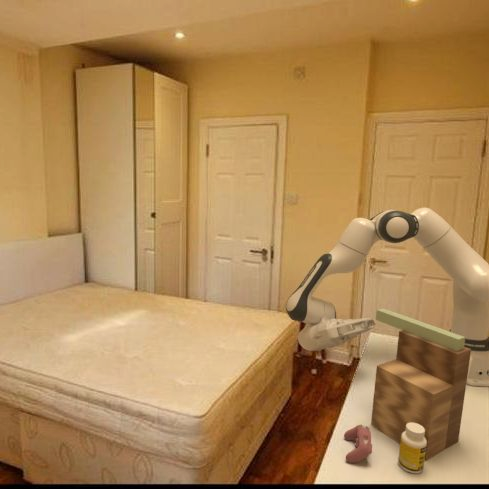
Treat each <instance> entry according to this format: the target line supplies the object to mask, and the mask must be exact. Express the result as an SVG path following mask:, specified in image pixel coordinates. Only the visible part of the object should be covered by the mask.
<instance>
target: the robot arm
mask: <svg viewBox="0 0 489 489" xmlns="http://www.w3.org/2000/svg"><path fill="white" fill-rule="evenodd" d="M410 239H414V240H416V242H418V244H419V245H420V246H421V247H422V248H423V250H425V252H426V253H428V255H429V256H430V257H431V258H432V259H433V261H435V262H436V263H437V264H438V266H440V267H441V268H442V270H444V272H445V273H446V274H448V275H449V277H451V279H452V296H453V297H452V298H453V299H452V300H453V302H452V304H453V305H452V306H453V308H452V320H451V328H450V329H449V330H448V331H449V332H452V333H455V334H458V335H461V336H463V337H465V343H464V347H467V348H469V349H471V354H470V361H469V368H468V375H467V382H466V385H469V386H472V387H489V263H488V262H487V261H486V260H485V259H484V257H482V256H481V255H480V254H479V253H478V252H477V251H476V250H474V248H473V247H472V246H470V245H469V244H468V243H467V242H466V241H465V239H463V238H462V236H460V234H459V233H458V232H457V231H456V230H455V229H454V228H453V227H452V226H451V225H450V224H449V223H448V222H447V221H446V220H445V219H444V218H443V217H442V216H440V215H439V214H438V213H437V212H435V211H434V210H432V209H431V208H429V207H425V206H423V207H419V208H417V209H414V211H413V212H411V213H408V212H405V211H402V210H398V209H386V210H383V211H381V212H379V213H377V214H376V215H374V216H373V217H371V218H369V219H367V218H365V217H356V218H353V219H352V220H351V221H350V222H349V224H348V225H347V226H346V227H345V229H344V231H343V232H342V233H341V235H340V237H339V239H338V241H337V243H336V245H335V246H334V247H333V248H332V249H331V250H330V251H328V252H327V253H325V254H322V255H321V256H320V257H319V258H318V259H317V261H316V262H315V263H314V264H313V266H312V267H311V268H310V270H309V272H308V273H307V274H306V276H305V277H304V279H303V280H302V281H301V283H300V285H299V286H298V287H297V288H296V290H294V292H292V294H290V296H289V297H288V298H287V301H286V302H285V310H286V314H287V315H288V318H290V319H291V321H295V322H300V323H304V324H305V326H304V328H302V329H301V330H300V332H299V333H298V334H297V341H298V343H299V345H300V346H301V347H302V348H303V349H304V350H306V351H309V352H316V351H322V350H326V349H327V348H328V349H330V348H331V349H332V348H335V347H336V348H337V347H339V346H343V345H344V344H345V343H347V342H349V341H350V340H353V339H356V338H357V337H358V336H359V335H361V334H364V333H366V332H368V331H370V330H373V329H374V328H375V326H376V325H377V320H376V318H373V319H372V318H371V317H361V318H354V319H353V318H344V319H341V318H337V311H336V308H335V306H334V305H333V303H331V302H330V301H326V300H324V299H321V298H317V297H314V296H312V295H314V292H316V290H317V288H319V286H320V284H321V283H322V282H323V281H324V280H325V278H327V277H329V276H331V275H336V274H349V273H353V272H357V271H358V270H359V269H360V268H361V267H362V266H363V264H364V263H365V261H366V259H367V257H368V255H369V254H370V251H371V249H372V247H373V246H374V245H375V244H376V243H377V242H379V241H383V242H386V243H390V244H391V243H392V244H400V243H403V242H405V241H407V240H410Z"/></svg>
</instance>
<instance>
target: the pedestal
mask: <svg viewBox="0 0 489 489" xmlns="http://www.w3.org/2000/svg"><path fill="white" fill-rule="evenodd" d="M397 339H398V340H397V347H396V348H397V349H396V350H397V351H396V356H395V357H396V358H395V359H392V360H390V361H387V362H384V363H380V364H378V365H376V369H375V370H376V371H375V378H374V379H375V381H374V390H373V391H374V392H373V402H372V410H371V411H372V412H371V422H370V425H371V426H372V427H374V428H375V429H377V430H378V431H379V432H381V433H383V434H384V435H386V436H387V437H389V438H390V439H392V440H393V441H395V442H396V443H398V444H399V445H400V443H401V436H402V433H403V432H404V431H405V430H406V424H407V423H411V422H412V423H417V424H420V425H421V426H423V427H424V429H425V435H424V437H425V439H426V441H427V445H426V453H425V460H424V462H425V461H428V460H430V459H431V458H432V457H435V456H437V455H438V454H439V453H442V452H443V451H444V450H446V449H449V447H451V446H453V445H455V444H456V443H458V442H459V439H460V432H461V424H462V418H463V409H464V404H465V394H466V390H467V389H466V388H467V383H466V382H467V375H468V368H469V361H470V354H471V349H469V348H467V347H464V349H462V350H459V351H455V350H452V349H450V348H447V347H445V346H442V345H439V344H437V343H434V342H432V341H429V340H427V339H424V338H421V337H419V336H416V335H414V334H411V333H409V332H406V331H403V330H399V331H398V338H397Z"/></svg>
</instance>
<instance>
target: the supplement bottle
mask: <svg viewBox="0 0 489 489" xmlns="http://www.w3.org/2000/svg"><path fill="white" fill-rule="evenodd" d="M424 435H425V429H424V427H423V426H421V425H420V424H417V423H412V422H411V423H407V424H406V430H405V431H404V432H403V433H402V436H401V443H400V444H399V453H398V460H397V462H398V465H399V466H400V468H401V469H402V470H404V471H406V472H407V473H411V474H420V473H421V472H423V470H424V466H425V453H426V445H427V441H426V439H425V437H424Z"/></svg>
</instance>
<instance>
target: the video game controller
mask: <svg viewBox="0 0 489 489" xmlns="http://www.w3.org/2000/svg"><path fill="white" fill-rule="evenodd" d="M343 438H344V440H346V441H355V440H356V441H355V444H354V445H355V449H353V450H351V451H349V452H348V453H347V454H346V455H345V461H346V462H347V463H351V464H353V463H355V464H356V463H359V462H361V461H363V460H364V459H366V458H368V457H369V456H370V455H372V453H373V444H372V434H371V429H370V428H369V426H367V425H363V424H362V423H361V424H357V425H356V426H354V427H353V428H350V429H348V430H346V431H345V432H344V434H343Z"/></svg>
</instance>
